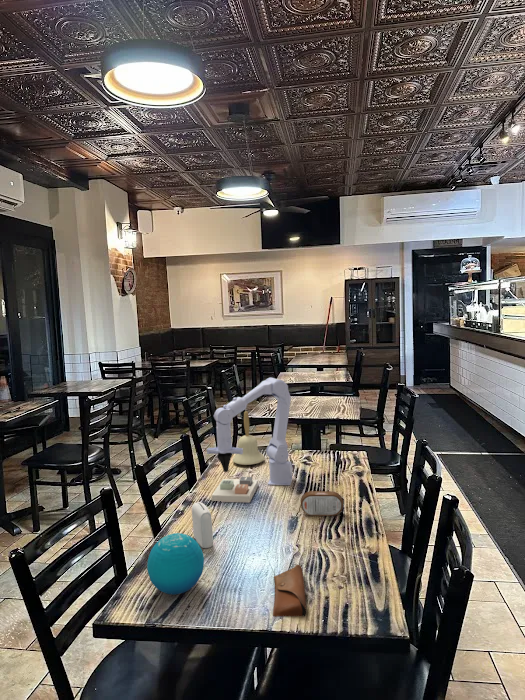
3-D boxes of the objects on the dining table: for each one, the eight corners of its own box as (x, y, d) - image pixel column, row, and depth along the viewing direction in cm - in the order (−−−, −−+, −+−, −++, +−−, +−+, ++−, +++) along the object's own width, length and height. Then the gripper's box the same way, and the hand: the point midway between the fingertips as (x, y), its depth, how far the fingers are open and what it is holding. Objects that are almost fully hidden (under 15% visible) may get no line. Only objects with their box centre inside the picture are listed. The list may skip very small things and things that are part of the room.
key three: (233, 487, 194) (233, 479, 194) (231, 491, 190) (230, 483, 189) (223, 487, 195) (222, 479, 194) (220, 491, 190) (220, 483, 190)
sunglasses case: (271, 574, 133) (283, 554, 132) (294, 586, 133) (305, 566, 132) (272, 617, 115) (285, 594, 114) (297, 630, 115) (311, 608, 114)
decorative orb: (169, 570, 138) (166, 520, 136) (215, 579, 132) (212, 527, 131) (137, 600, 124) (133, 545, 123) (187, 612, 118) (183, 555, 117)
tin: (343, 513, 169) (342, 490, 168) (344, 517, 166) (343, 493, 165) (301, 513, 171) (300, 490, 170) (300, 517, 168) (299, 494, 167)
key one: (252, 484, 196) (252, 476, 196) (250, 488, 192) (250, 480, 192) (242, 483, 197) (241, 476, 197) (239, 487, 193) (239, 480, 193)
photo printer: (191, 536, 157) (189, 500, 156) (204, 533, 159) (202, 497, 158) (202, 550, 148) (199, 512, 147) (215, 546, 150) (212, 508, 149)
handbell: (252, 469, 218) (249, 416, 215) (226, 465, 226) (223, 413, 224) (270, 459, 231) (268, 409, 228) (245, 455, 239) (242, 406, 236)
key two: (248, 491, 189) (248, 483, 188) (246, 496, 184) (245, 488, 184) (237, 491, 189) (237, 483, 189) (235, 495, 185) (234, 488, 185)
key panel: (258, 485, 199) (257, 479, 198) (249, 502, 182) (249, 496, 182) (223, 484, 201) (222, 479, 201) (211, 501, 185) (211, 495, 184)
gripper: (203, 440, 187) (205, 474, 189) (239, 441, 185) (241, 475, 186) (208, 435, 194) (210, 468, 196) (243, 436, 192) (245, 468, 193)
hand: (226, 471), depth 191 cm, fingers closed
